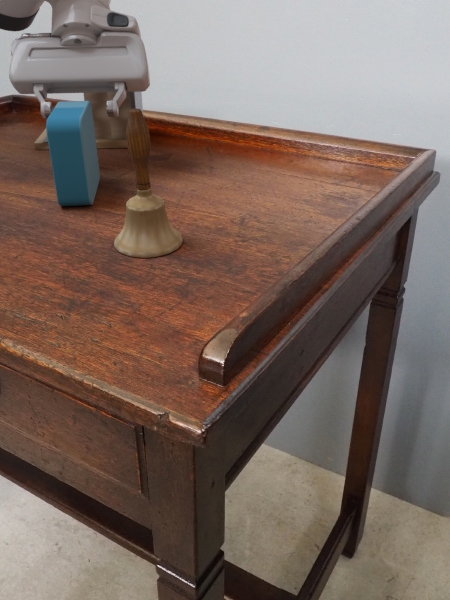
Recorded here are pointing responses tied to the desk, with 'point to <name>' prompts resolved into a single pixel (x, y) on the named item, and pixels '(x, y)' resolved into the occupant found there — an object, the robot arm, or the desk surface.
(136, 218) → the hand bell
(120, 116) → the book rack
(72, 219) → the desk surface
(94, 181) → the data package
